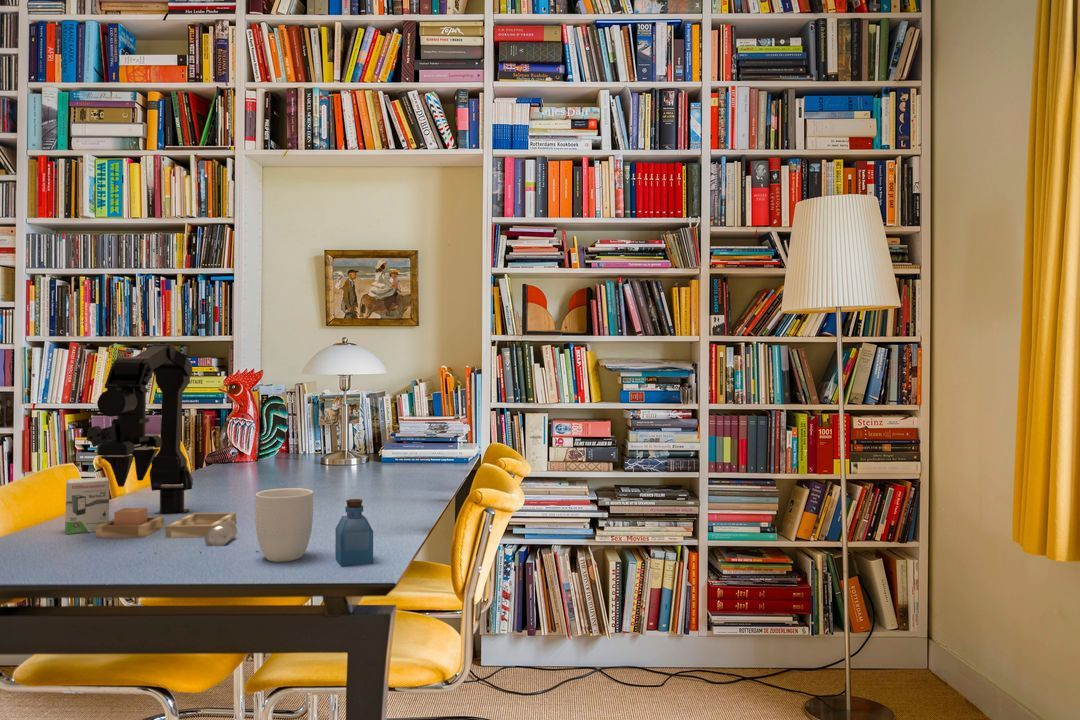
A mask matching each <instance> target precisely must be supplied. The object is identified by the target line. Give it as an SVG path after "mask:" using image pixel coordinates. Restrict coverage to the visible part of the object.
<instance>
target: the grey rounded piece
mask: <svg viewBox="0 0 1080 720" xmlns="http://www.w3.org/2000/svg"><path fill="white" fill-rule="evenodd" d="M237 534H238V528H237V525H236V524H233V523H232V522H229V521H225V522H222V523H220V524H218V525H217V526H215V527H213V528H212V529H210V530H209V531H207V533H206V534H205V538H204V543H205V545H206V546H207V547H211V546H212V547H217V546H218V547H223V546H225V545H226V544H228V543H229V542H231V541H232V540H234V539H235V538H236V537H237Z"/></svg>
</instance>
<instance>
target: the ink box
mask: <svg viewBox="0 0 1080 720" xmlns="http://www.w3.org/2000/svg"><path fill="white" fill-rule="evenodd" d="M64 517H65V520H64V521H65V522H64V523H65V526H64V532H65V533H66V535H73V534H74V533H75V534H82V533H83V534H85V533H96V526H98V525H101V524H103V523H106V522H108V521H110V519H109V518H110V479H109V478H108V477H106V476H105V477H104V476H103V477H86V478H85V477H82V478H70V479H68V480H66V485H65V515H64Z"/></svg>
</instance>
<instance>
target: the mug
mask: <svg viewBox="0 0 1080 720" xmlns="http://www.w3.org/2000/svg"><path fill="white" fill-rule="evenodd" d="M254 507H255V511H254V514H255V518H254V519H255V520H254V521H255V522H254V523H255V531H256V537H257V542H258V545H259V548H260V550H261V552H262V554H263V556H264V557H265V559H267V561H270V562H276V563H283V562H286V563H287V562H292V561H296V560H299V559H300V558H302V556H303V555H304V554H305V552H306V550H307V548H308V546H309V543H310V539H311V535H312V528H313V521H314V491H313V490H311V489H308V488H301V487H300V488H299V487H295V488H294V487H293V488H292V487H289V488H285V487H284V488H273V489H267V490H261V491H258V492H256V494H255V506H254Z"/></svg>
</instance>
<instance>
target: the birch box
mask: <svg viewBox="0 0 1080 720" xmlns="http://www.w3.org/2000/svg"><path fill="white" fill-rule="evenodd" d="M225 521H229V522H232V523H233V524H234V525H236V524H237V512H192V513H190V514H188V515H186V516H184V517H182V518H180V519H178V520H176V521H174V522H172V523H170V524H168V525H166V526H165V534H164V535H165V538H166V539H171V538H172V539H177V538H179V539H181V538H184V539H186V538H191V539H192V538H193V539H194V538H196V539H197V538H198V539H199V538H201V539H202V538H204V539H205V534H206V533H207V531H209V530H210V529H212V528H213V527H215V526H217V525H218V524H220V523H222V522H225Z"/></svg>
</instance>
